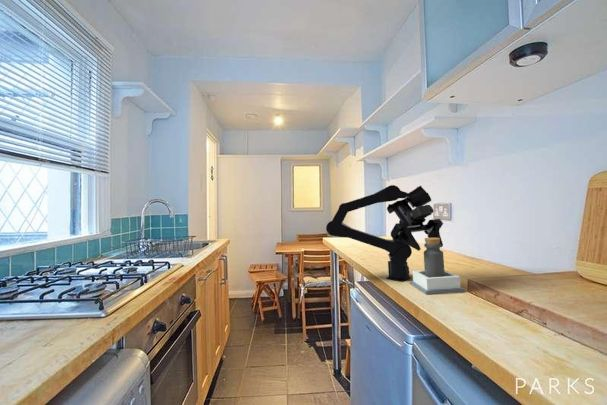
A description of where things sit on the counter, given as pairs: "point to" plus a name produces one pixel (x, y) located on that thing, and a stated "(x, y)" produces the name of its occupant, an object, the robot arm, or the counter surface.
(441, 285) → the holder
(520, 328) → the counter surface
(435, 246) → the bottle
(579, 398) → the counter surface
